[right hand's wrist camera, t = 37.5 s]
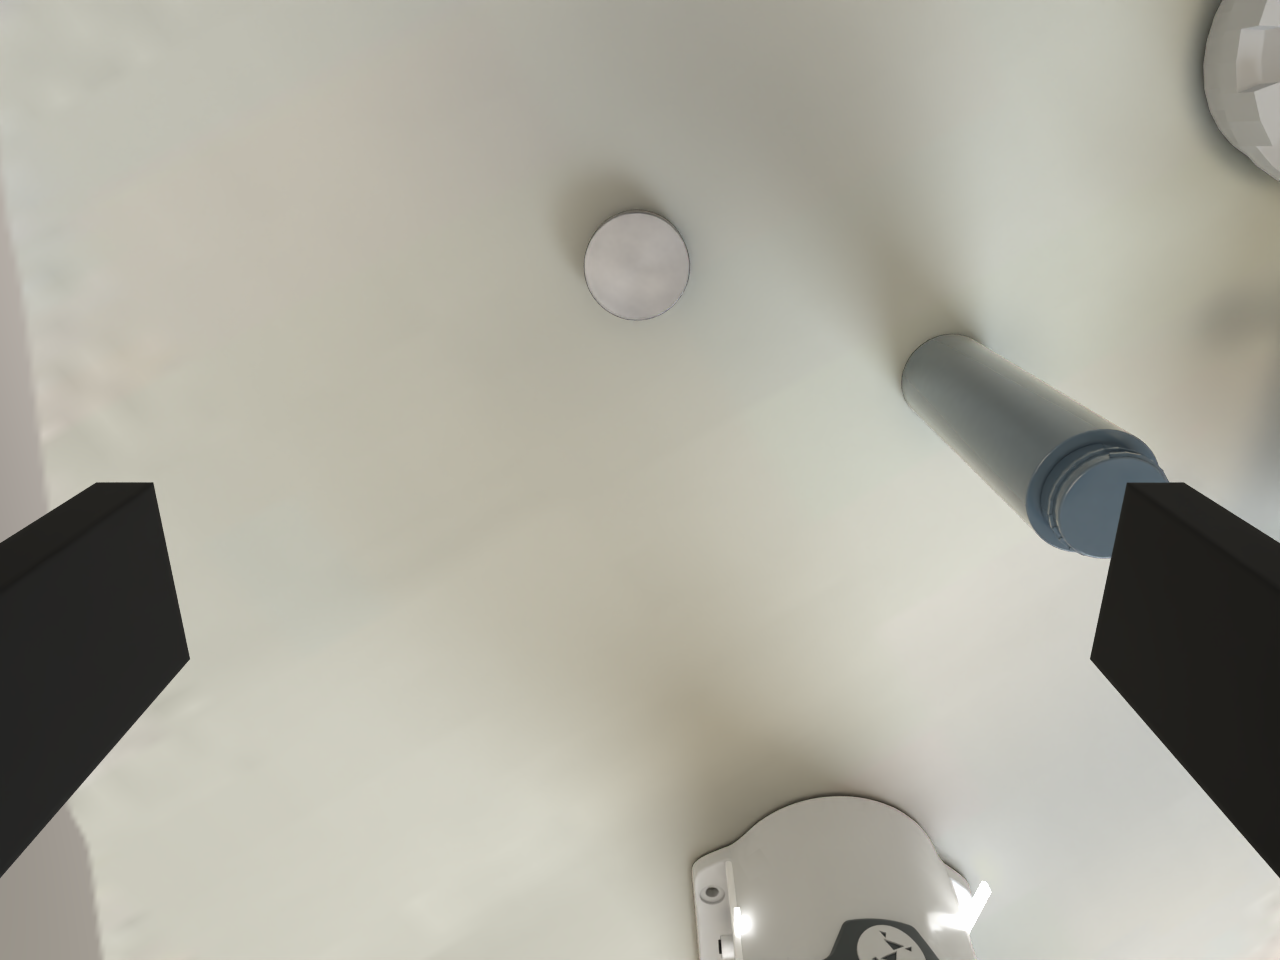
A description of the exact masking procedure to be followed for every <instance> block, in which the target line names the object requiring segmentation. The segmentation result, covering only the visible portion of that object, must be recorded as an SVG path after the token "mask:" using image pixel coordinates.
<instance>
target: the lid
mask: <svg viewBox="0 0 1280 960" xmlns="http://www.w3.org/2000/svg"><path fill="white" fill-rule="evenodd" d="M689 272H690V261H689V255H688V251H687V248H686V245H685V243H684V241H683V238H682V237H681V235H680V233H679V232H678V230H677V229H676V228H675V227H674V226H673V225H672V224H671V223H670V222H669V221H668V220H666V219H665V218H663V217H662V216H660V215H658V214H656V213H653V212H649V211H645V210H629V211H624V212H621V213H618V214H616V215H614V216H612V217H610V218H609V219H607V220H606V221H605V222H604V223H602V224H601V225H600V227H599V228H598V229H597V230H596V232H595V233H594V234H593V236H592V238H591V240H590V242H589V244H588V247H587V250H586V253H585V258H584V274H585V280H586V283H587V286H588V288H589V290H590V292H591V294H592V296H593V297H594V299H595V300H596V301H597V302H598V304H599V305H601V306H602V307H603V308H604V309H605V310H607V311H608V312H609V313H611V314H613V315H615V316H617V317H620V318H623V319H627V320H646V319H650V318H654V317H656V316H659V315H661V314H663V313H664V312H666V311H667V310H669V309H670V308H671V307H672V306H673V305H674V304H675V303H676V302H677V301H678V300H679V298H680V297H681V295H682V294H683V292H684V290H685V287H686V285H687V282H688V278H689Z"/></svg>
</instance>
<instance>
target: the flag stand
mask: <svg viewBox="0 0 1280 960" xmlns="http://www.w3.org/2000/svg"><path fill="white" fill-rule="evenodd" d="M1203 71H1204V90H1205V94H1206V98H1207V102H1208V106H1209V110H1210V113H1211V115H1212V117H1213V119H1214V121H1215V123H1216V125H1217V127H1218V129H1219V130H1220V131H1221V133H1222V134H1223V135H1224V136H1225V137H1226V139H1227V140H1228V141H1229V142H1230V143H1231V144H1232V146H1234V147H1235V148H1237V149H1238V150H1239V151H1241V152H1242V153H1244V154H1245V155H1246V156H1248V157H1249V158H1250V159H1251V160H1252V161H1253V163H1254V164H1255V165H1256V166H1257V167H1259V168H1260V169H1262V170H1263V171H1265V172H1266V173H1267V174H1269V175H1270V176H1272V177H1273V178H1274V179H1276V180H1278V181H1280V0H1222V2H1221V4H1220V6H1219V8H1218V10H1217V12H1216V14H1215V16H1214V19H1213V22H1212V26H1211V29H1210V32H1209V35H1208V38H1207V43H1206V50H1205V57H1204V63H1203Z"/></svg>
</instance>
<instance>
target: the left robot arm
mask: <svg viewBox="0 0 1280 960" xmlns="http://www.w3.org/2000/svg"><path fill="white" fill-rule="evenodd" d="M692 882H693V894H694V905H695V917H696V928H697V940H698V951H699V960H977V958H976V955H975V951H974V948H973V945H972V942H971V939H970V935H969V932H970V930H971V929H972V927H973V925H974V923H975V921H976V919H977V917H978V916H979V914H980V912H981V910H982V908H983V906H984V904H985V902H986V901H987V899H988V897H989V895H990V893H991V891H990V889H989V886H988V884H987V882H983V881H982V882H981V884H980V886H979V888H978V890H977V892H976V894H975V896H974V897H973V898H972V894H971V890H970V887H969V884H968V882H967V881H966V879H965V878H964V877H962V876H961V875H960V874H959V873H958V872H956V871H955V870H953V869H952V868H951V867H949V866H948V865H946V864H945V863H944V862H943V861H942V860H941V859H940V857H939V855H938V854H937V852H936V850H935V848H934V846H933V844H932V842H931V840H930V838H929V837H928V835H927V834H926V833H925V831H924V830H923V829H922V828H921V827H920V826H919V825H918V824H917V823H916V822H915V821H914V820H913V819H911V818H910V817H909V816H907V815H906V814H904V813H903V812H901V811H899V810H897V809H895V808H893V807H891V806H889V805H886V804H884V803H881V802H878V801H874V800H870V799H866V798H860V797H851V796H829V797H820V798H814V799H809V800H805V801H801V802H798V803H794V804H792V805H789V806H786V807H784V808H782V809H780V810H778V811H776V812H774V813H772V814H770V815H768V816H767V817H765V818H764V819H762V820H761V821H759V822H758V823H757V824H756V825H754V826H753V827H752V828H751V829H750V830H749V831H748V832H746V833H745V834H744V835H743V836H742V837H741V838H740V839H738V840H737V841H736V842H734V843H733V844H731V845H730V846H727V847H724V848H722V849H719V850H717V851H714V852H712V853H709V854H707V855H705V856H703V857H701V858H700V859H698V860H697V861H696V862H695V863H694V865H693V867H692ZM710 887H714V888H713V889H710Z"/></svg>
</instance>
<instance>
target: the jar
mask: <svg viewBox="0 0 1280 960" xmlns="http://www.w3.org/2000/svg"><path fill="white" fill-rule="evenodd" d="M902 391H903V395H904V398H905V400H906V402H907V404H908V405H909V407H910V408H911V409H912V410H913V411H914V412H915V413H916V414H917V415H918V416H919V417H920V418H921V419H922V420H923V421H924V422H925V423H926V424H927V425H928V426H929V427H930V428H931V429H932V430H933V431H934V432H935V433H936V434H937V435H938V436H939V437H940V438H941V439H942V440H943V441H944V442H945V443H946V444H947V445H948V446H949V447H950V448H951V449H952V450H953V451H954V452H955V453H956V454H957V455H958V456H959V457H960V458H961V459H962V460H963V461H964V462H965V463H966V464H967V465H968V466H969V467H970V468H971V469H972V470H973V471H974V472H975V473H976V474H977V475H978V476H979V477H980V478H981V479H982V480H983V481H984V482H985V483H986V484H987V485H988V486H989V487H990V488H991V489H992V490H993V491H994V492H995V493H996V494H997V495H998V496H999V497H1000V498H1001V499H1002V500H1003V501H1004V502H1005V503H1006V504H1007V505H1008V506H1009V507H1010V508H1011V509H1012V510H1013V511H1014V512H1015V513H1016V514H1017V515H1018V516H1019V517H1020V518H1021V519H1022V520H1023V521H1024V522H1025V523H1026V524H1027V525H1028V526H1029V527H1030V528H1031V529H1032V530H1033V531H1034V532H1035V533H1036V534H1037V535H1038V536H1039V537H1040V538H1042V539H1043V540H1044V541H1045V542H1047V543H1048V544H1050V545H1052V546H1054V547H1056V548H1059V549H1061V550H1065V551H1069V552H1077V553H1079V554H1081V555H1085V556H1089V557H1093V558H1111V556H1112V551H1113V546H1114V542H1115V537H1116V532H1117V527H1118V522H1119V518H1120V513H1121V508H1122V503H1123V498H1124V494H1125V489H1126V484H1127V483H1169V481H1168V479H1167V477H1166V475H1165V474H1164V472H1163V470H1162V469H1161V468H1160V467H1159V466H1158V462H1157V460H1156V458H1155V456H1154V454H1153V453H1152V451H1151V450H1150V448H1149V447H1148V446H1147V445H1146V444H1145V443H1144V442H1143V441H1141V440H1140V439H1139V438H1137V437H1135V436H1134V435H1132V434H1130V433H1129V432H1127V431H1125V430H1124V429H1122V428H1120V427H1119V426H1117V425H1115V424H1114V423H1112V422H1110V421H1109V420H1107V419H1105V418H1104V417H1102V416H1100V415H1099V414H1097V413H1095V412H1094V411H1092V410H1090V409H1089V408H1087V407H1085V406H1084V405H1082V404H1080V403H1079V402H1077V401H1075V400H1074V399H1072V398H1070V397H1069V396H1067V395H1065V394H1064V393H1062V392H1060V391H1059V390H1057V389H1055V388H1054V387H1052V386H1050V385H1049V384H1047V383H1045V382H1044V381H1042V380H1040V379H1039V378H1037V377H1035V376H1034V375H1032V374H1030V373H1029V372H1027V371H1025V370H1024V369H1022V368H1020V367H1019V366H1017V365H1015V364H1013V363H1012V362H1010V361H1008V360H1007V359H1005V358H1003V357H1002V356H1000V355H998V354H997V353H995V352H993V351H992V350H990V349H988V348H987V347H985V346H983V345H982V344H980V343H978V342H977V341H975V340H973V339H972V338H969V337H967V336H963V335H958V334H947V335H942V336H938V337H935V338H933V339H930V340H929V341H927V342H925V343H924V344H922V345H921V346H920V347H919V348H918V349H917V350H916V351H915V352H914V353H913V354H912V355H911V357H910V358H909V360H908V362H907V364H906V366H905V368H904V371H903V376H902Z"/></svg>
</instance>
